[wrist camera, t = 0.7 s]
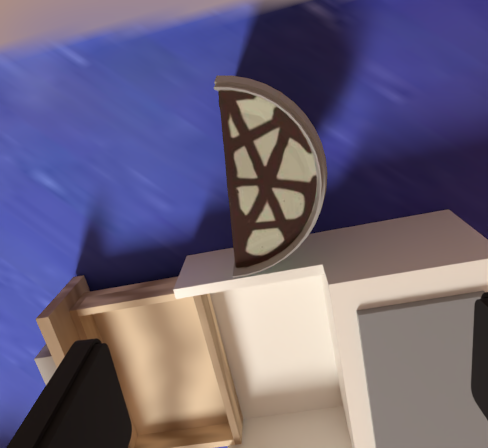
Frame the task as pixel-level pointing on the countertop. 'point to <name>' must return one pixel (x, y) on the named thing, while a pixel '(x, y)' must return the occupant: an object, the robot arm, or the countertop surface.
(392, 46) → the countertop surface
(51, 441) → the robot arm
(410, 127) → the countertop surface
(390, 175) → the countertop surface
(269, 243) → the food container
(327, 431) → the dock
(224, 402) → the sliding tray
